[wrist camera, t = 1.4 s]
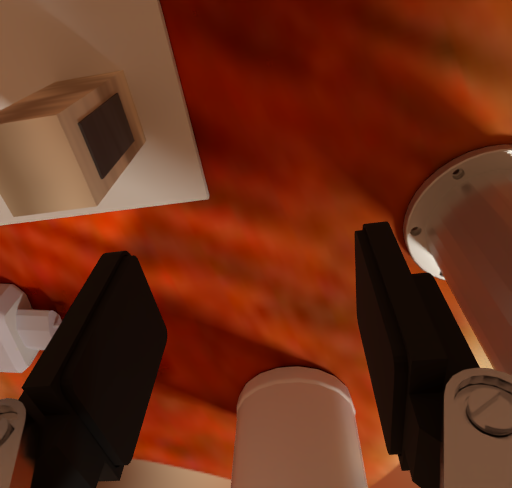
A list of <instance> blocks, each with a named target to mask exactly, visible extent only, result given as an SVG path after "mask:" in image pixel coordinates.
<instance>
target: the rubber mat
mask: <svg viewBox="0 0 512 488" xmlns="http://www.w3.org/2000/svg"><path fill="white" fill-rule="evenodd" d="M121 70H124V74H125V77H126V80H127V83H128V86H129V89H130V92H131V95H132V98H133V101H134V104H135V107H136V110H137V113H138V116H139V119H140V122H141V125H142V128H143V131H144V135H145V138H146V142H145V143H144V145H143V146H142V147H141V149H140V150H139V151H138V153H137V154H136V155H135V157H134V158H133V159H132V161H131V162H130V163H129V165H128V166H127V167H126V169H125V170H124V171H123V173H122V174H121V175H120V177H119V178H118V179H117V181H116V182H115V183H114V185H113V186H112V187H111V189H110V190H109V191H108V193H107V194H106V195H105V197H104V198H103V199H102V201H101V202H100V203H99V205H98V206H96V207H89V208H81V209H73V210H65V211H57V212H50V213H42V214H34V215H26V216H18V217H13V215H12V214H11V212H10V210H9V209H8V207H7V205H6V203H5V202H4V200H3V198H2V197H1V195H0V225H7V224H15V223H23V222H31V221H39V220H47V219H55V218H63V217H71V216H79V215H86V214H94V213H102V212H110V211H118V210H126V209H134V208H142V207H150V206H158V205H166V204H174V203H182V202H190V201H198V200H206V199H209V192H208V188H207V184H206V180H205V176H204V172H203V169H202V165H201V161H200V157H199V153H198V149H197V145H196V141H195V137H194V133H193V129H192V126H191V122H190V118H189V114H188V110H187V106H186V102H185V98H184V94H183V90H182V87H181V83H180V79H179V75H178V71H177V67H176V63H175V59H174V55H173V51H172V48H171V44H170V40H169V36H168V32H167V28H166V24H165V20H164V16H163V12H162V8H161V5H160V1H159V0H0V110H2V109H4V108H6V107H8V106H10V105H12V104H14V103H16V102H17V101H19V100H21V99H23V98H25V97H27V96H29V95H31V94H33V93H35V92H37V91H39V90H41V89H43V88H44V87H46V86H48V85H50V84H52V83H54V82H57V81H63V80H69V79H75V78H80V77H86V76H92V75H98V74H104V73H109V72H115V71H121Z"/></svg>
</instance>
